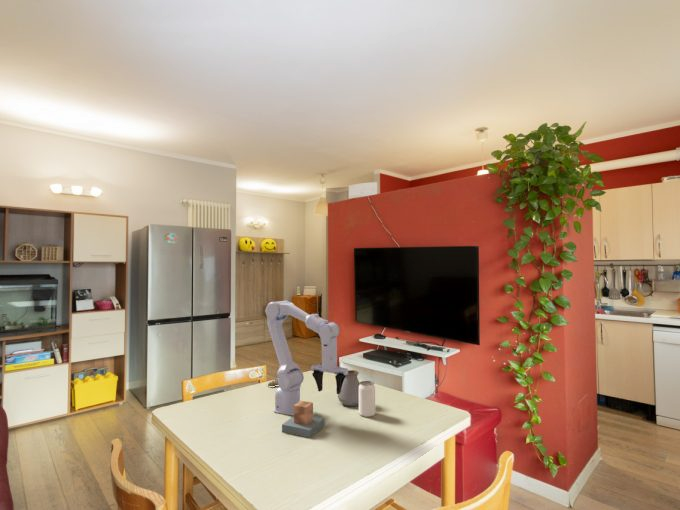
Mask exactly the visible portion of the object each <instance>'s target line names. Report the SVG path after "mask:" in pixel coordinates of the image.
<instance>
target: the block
mask: <svg viewBox="0 0 680 510" xmlns="http://www.w3.org/2000/svg"><path fill="white" fill-rule="evenodd" d="M293 416H294V423H298V424H303V425H307V424H308V423H309V422H311V421H312V420H313V416H314V402H311V401H303V400H300V402H298V403H297V404H295V405H294V415H293Z"/></svg>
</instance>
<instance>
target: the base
mask: <svg viewBox="0 0 680 510" xmlns="http://www.w3.org/2000/svg"><path fill="white" fill-rule="evenodd" d="M324 426H325V417H321V416H317V415H313V420H312V421H311V422H309V423H308V424H307V425H303V424H298V423H294V415H292V417H291V418H289V419H288V420H286V421H285V422H283V423H282V424H281V433H285V434H286V433H287V434H291V435H295V436H301V437H304V438H311V437H313V436H314V435H315V434H316V433H317V432H319V430H321V429H322V428H323V427H324Z"/></svg>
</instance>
